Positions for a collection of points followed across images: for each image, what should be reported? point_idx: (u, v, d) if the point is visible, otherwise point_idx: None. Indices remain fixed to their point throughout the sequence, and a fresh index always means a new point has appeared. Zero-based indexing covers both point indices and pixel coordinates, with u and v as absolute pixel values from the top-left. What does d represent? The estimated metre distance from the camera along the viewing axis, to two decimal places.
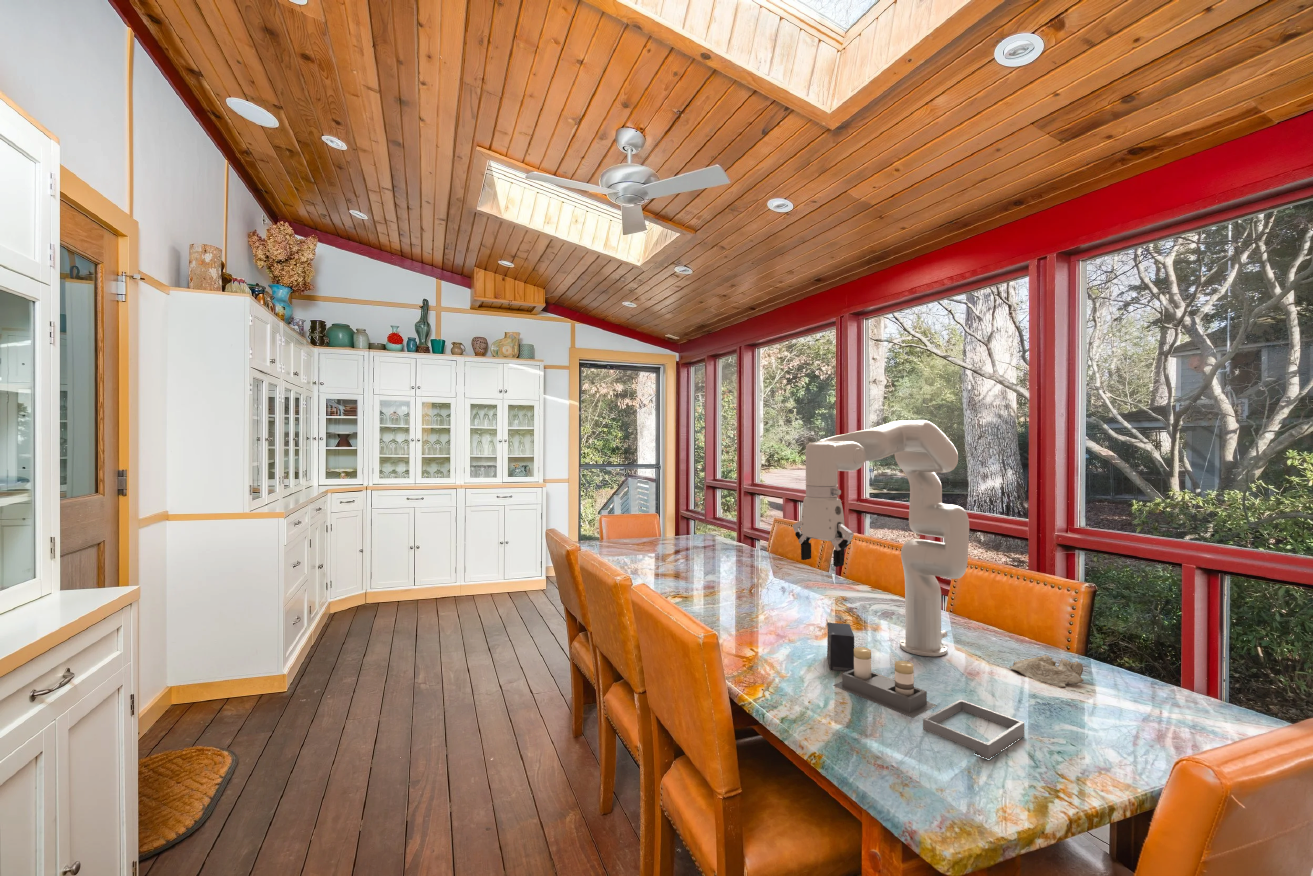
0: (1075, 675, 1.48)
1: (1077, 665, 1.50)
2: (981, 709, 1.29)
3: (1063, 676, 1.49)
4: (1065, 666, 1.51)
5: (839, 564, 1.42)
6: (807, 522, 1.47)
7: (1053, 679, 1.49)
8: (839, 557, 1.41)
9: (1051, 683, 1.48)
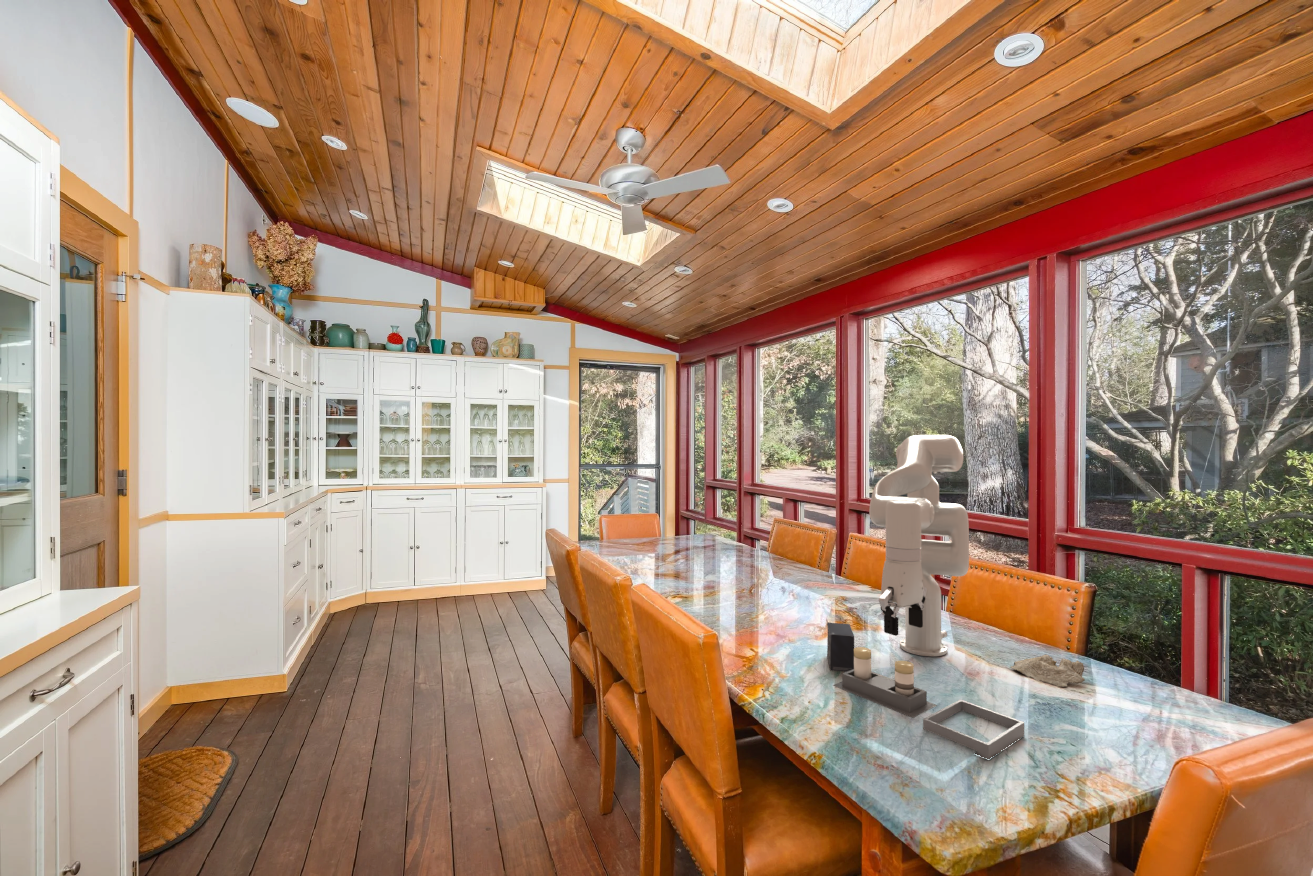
0: (1076, 675, 1.48)
1: (1078, 665, 1.50)
2: (981, 709, 1.29)
3: (1064, 676, 1.49)
4: (1066, 666, 1.51)
5: None
6: (906, 590, 1.33)
7: (1054, 679, 1.49)
8: None
9: (1053, 683, 1.48)
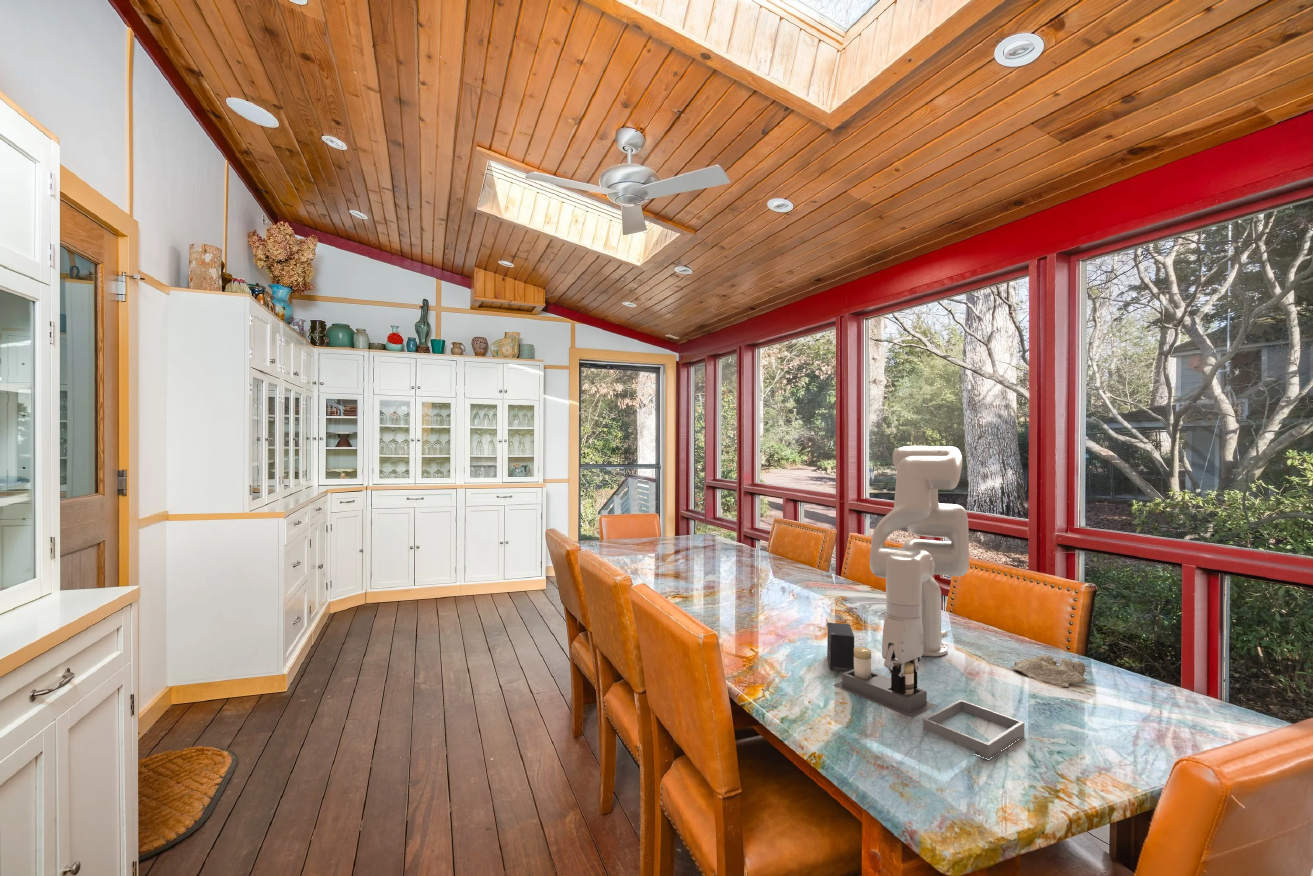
0: (1078, 675, 1.48)
1: (1079, 665, 1.50)
2: (981, 709, 1.29)
3: (1065, 676, 1.49)
4: (1067, 666, 1.51)
5: None
6: (907, 646, 1.33)
7: (1056, 679, 1.49)
8: None
9: (1054, 683, 1.48)
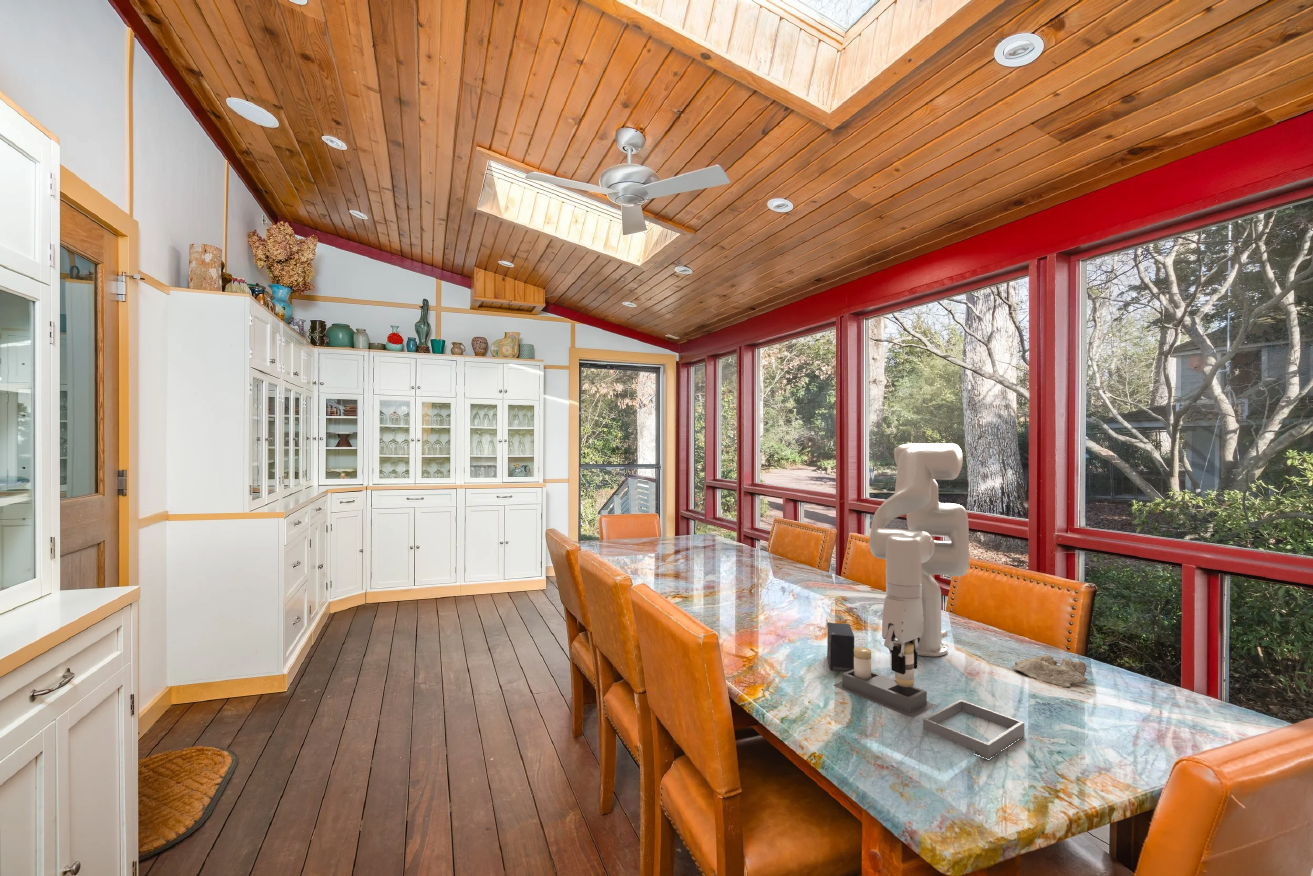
0: (1079, 674, 1.48)
1: (1080, 665, 1.50)
2: (981, 709, 1.29)
3: (1066, 676, 1.49)
4: (1068, 666, 1.52)
5: None
6: (907, 626, 1.33)
7: (1057, 679, 1.49)
8: None
9: (1056, 683, 1.48)
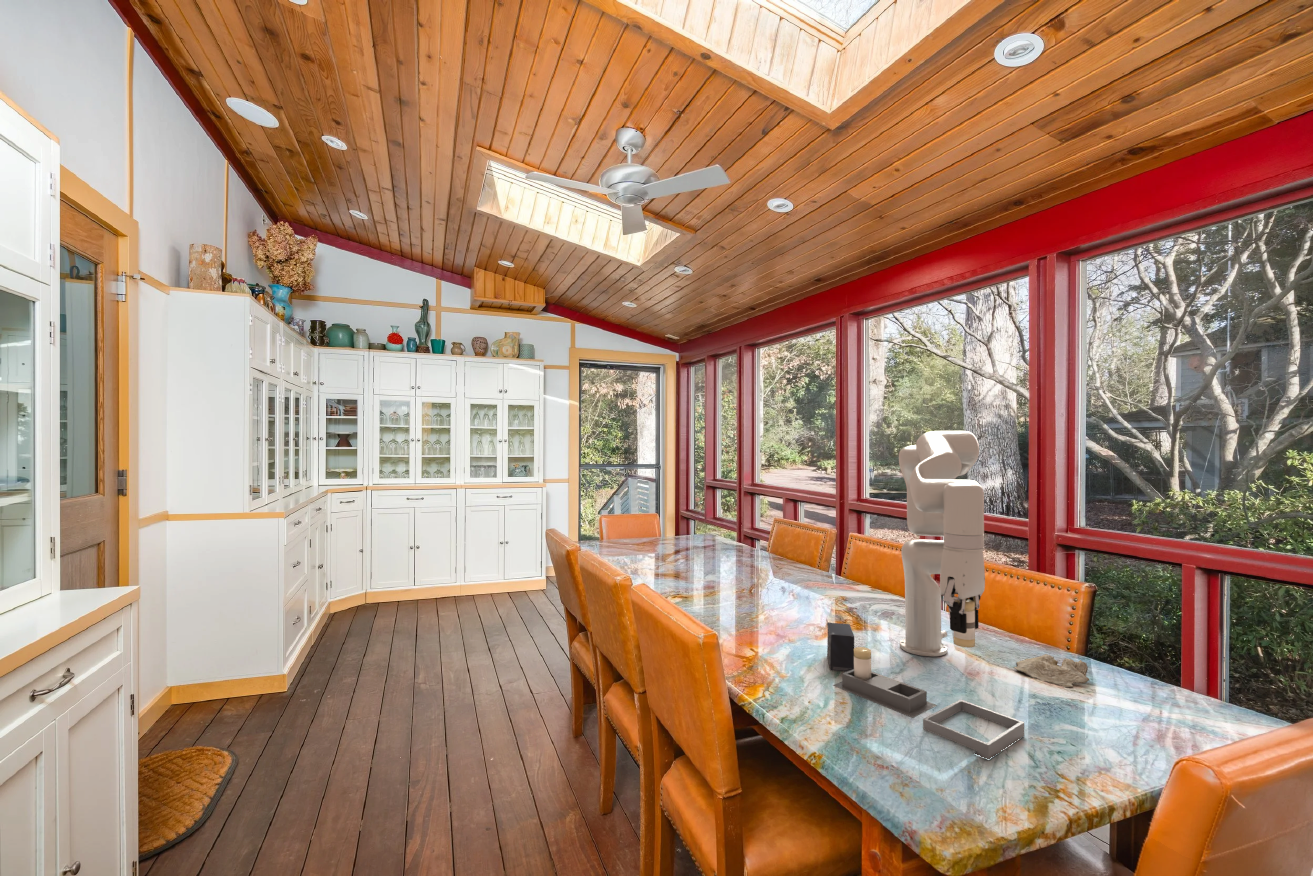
0: (1080, 674, 1.48)
1: (1081, 665, 1.50)
2: (981, 709, 1.29)
3: (1068, 676, 1.49)
4: (1069, 665, 1.52)
5: None
6: (968, 580, 1.22)
7: (1060, 679, 1.48)
8: None
9: (1058, 683, 1.48)
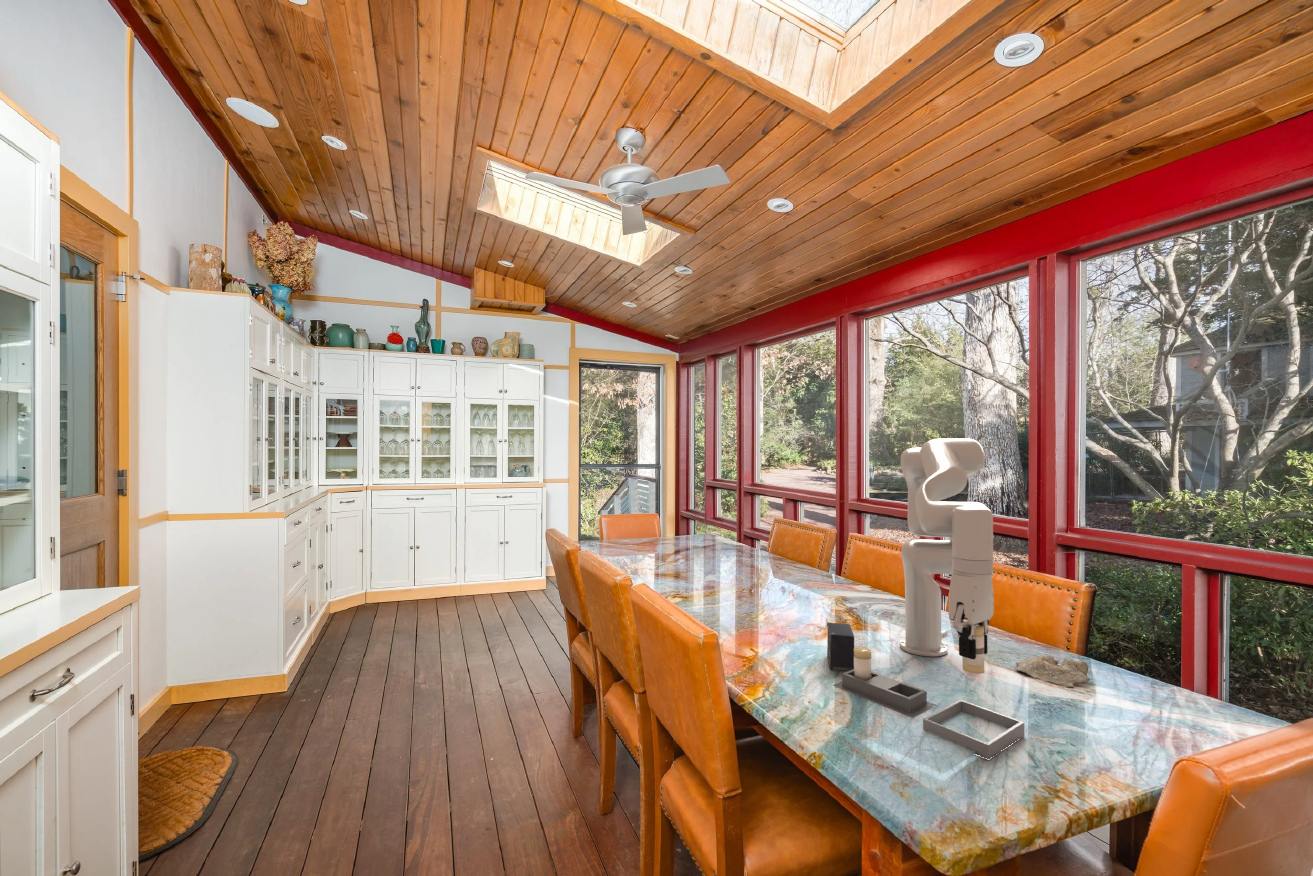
0: (1081, 674, 1.48)
1: (1082, 664, 1.50)
2: (981, 709, 1.29)
3: (1069, 676, 1.49)
4: (1070, 665, 1.52)
5: None
6: (978, 606, 1.20)
7: (1061, 679, 1.48)
8: None
9: (1059, 683, 1.48)
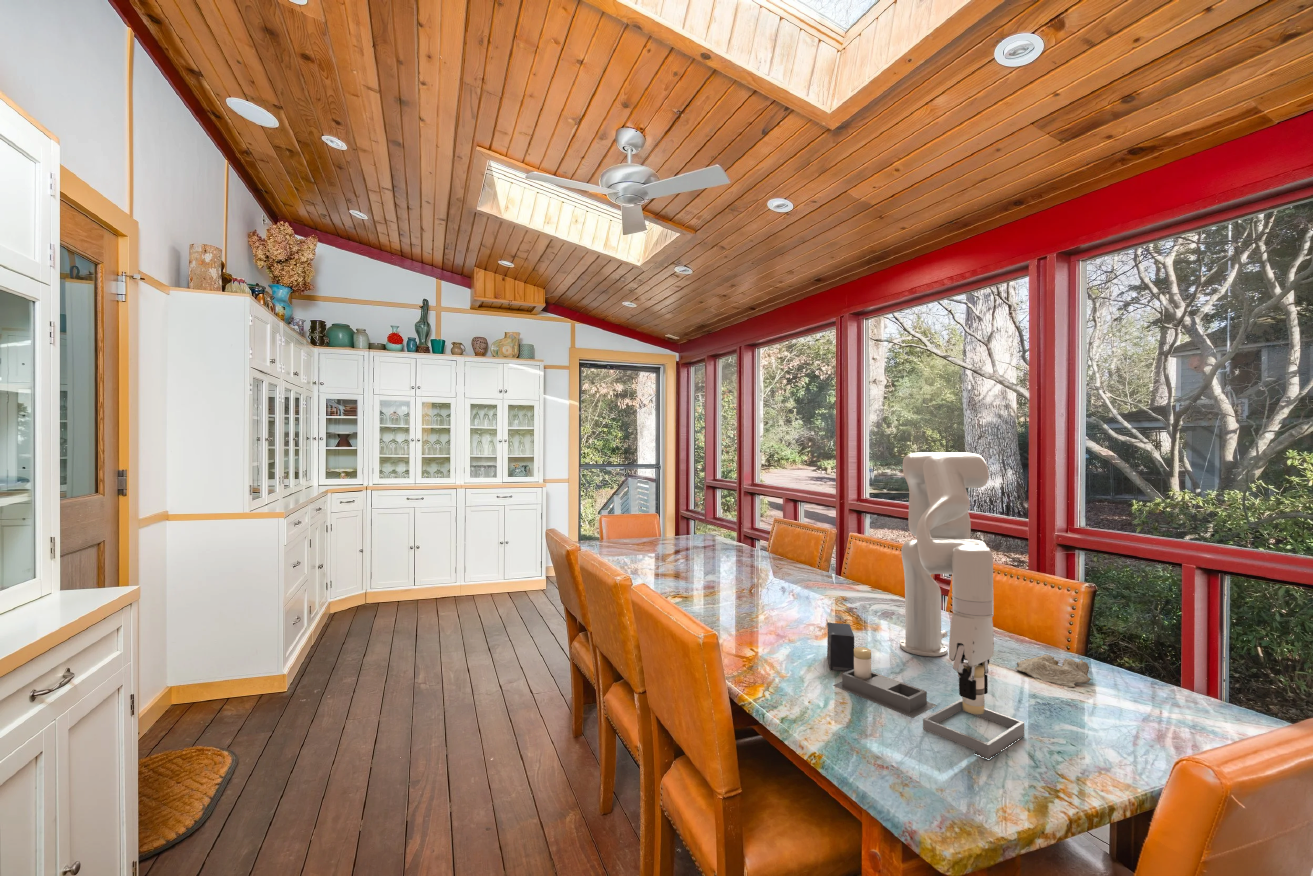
0: (1082, 674, 1.48)
1: (1082, 664, 1.50)
2: None
3: (1070, 676, 1.49)
4: (1070, 665, 1.52)
5: None
6: (978, 647, 1.20)
7: (1062, 679, 1.48)
8: None
9: (1060, 683, 1.48)
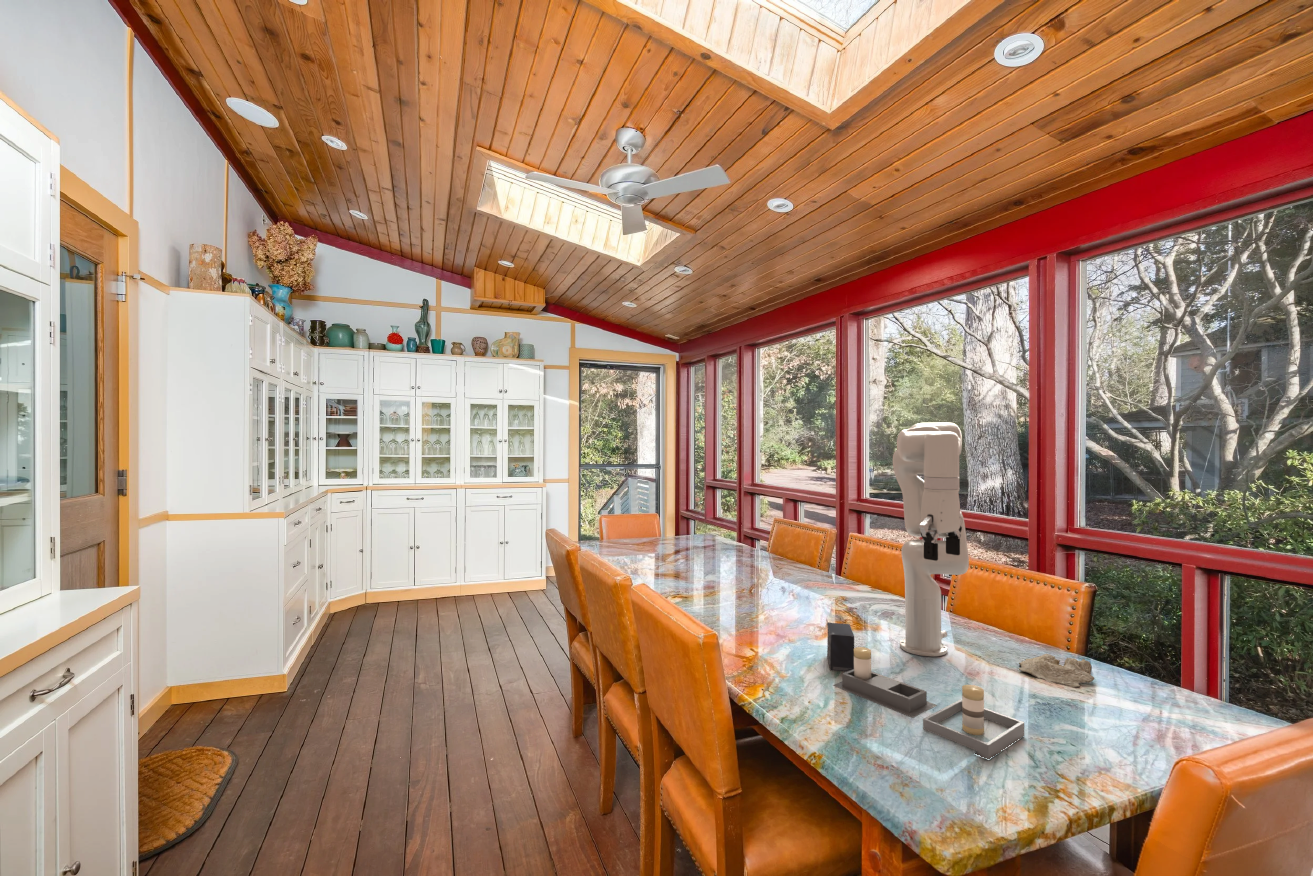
0: (1085, 673, 1.49)
1: (1085, 664, 1.51)
2: None
3: (1074, 676, 1.49)
4: (1073, 665, 1.52)
5: None
6: (945, 517, 1.38)
7: (1066, 679, 1.48)
8: None
9: (1065, 683, 1.48)
